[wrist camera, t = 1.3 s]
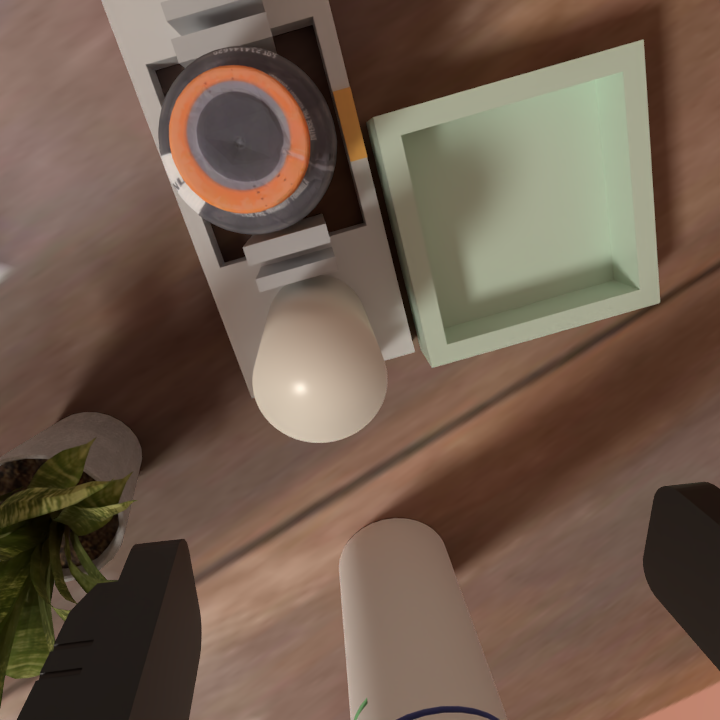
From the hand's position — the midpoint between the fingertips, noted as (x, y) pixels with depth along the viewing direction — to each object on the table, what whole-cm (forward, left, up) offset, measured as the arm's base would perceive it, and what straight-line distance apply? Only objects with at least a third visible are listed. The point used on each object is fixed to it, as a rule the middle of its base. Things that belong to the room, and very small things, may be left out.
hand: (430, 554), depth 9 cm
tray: (-9, -2, -21) cm, 23 cm away
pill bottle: (+2, -8, -21) cm, 22 cm away
